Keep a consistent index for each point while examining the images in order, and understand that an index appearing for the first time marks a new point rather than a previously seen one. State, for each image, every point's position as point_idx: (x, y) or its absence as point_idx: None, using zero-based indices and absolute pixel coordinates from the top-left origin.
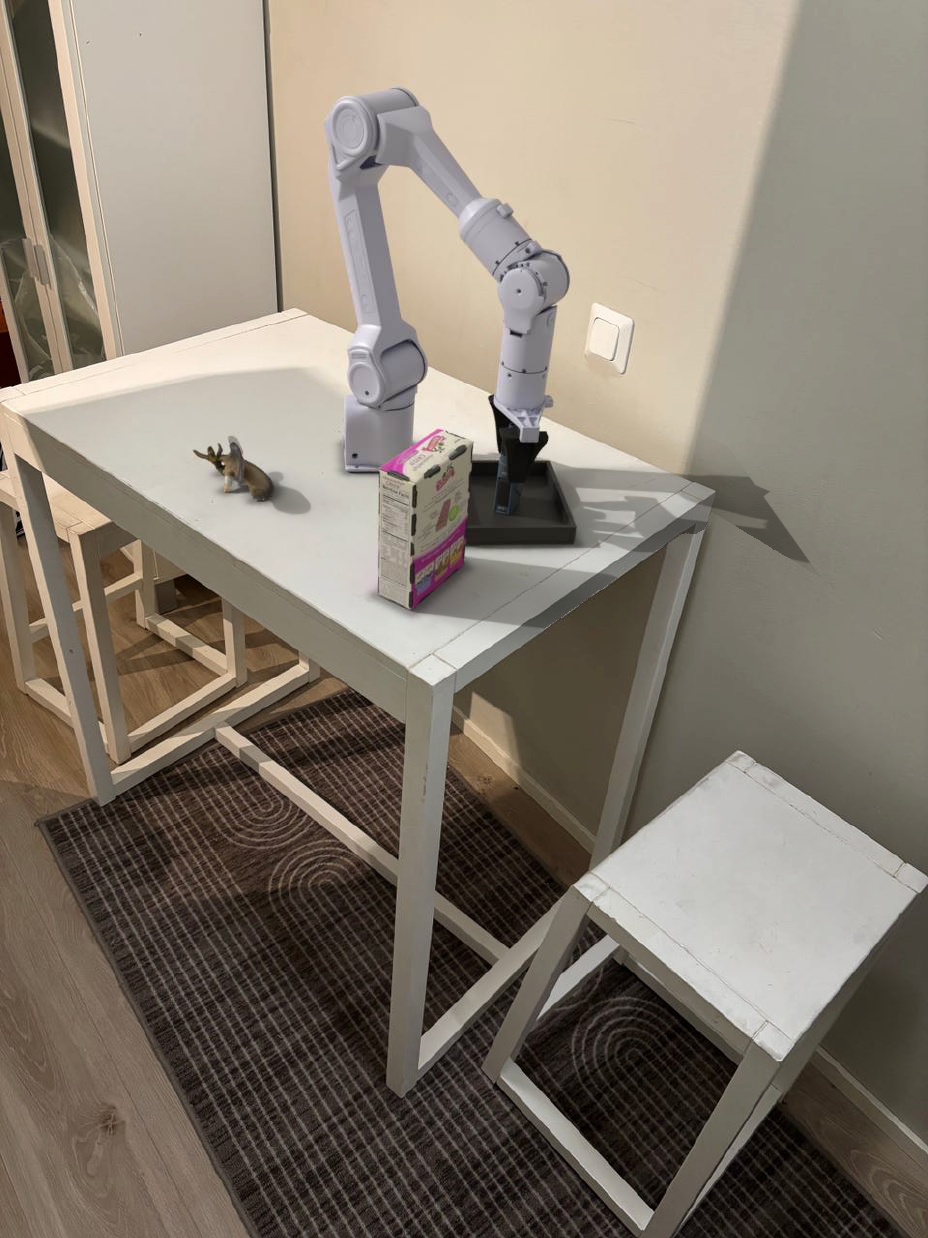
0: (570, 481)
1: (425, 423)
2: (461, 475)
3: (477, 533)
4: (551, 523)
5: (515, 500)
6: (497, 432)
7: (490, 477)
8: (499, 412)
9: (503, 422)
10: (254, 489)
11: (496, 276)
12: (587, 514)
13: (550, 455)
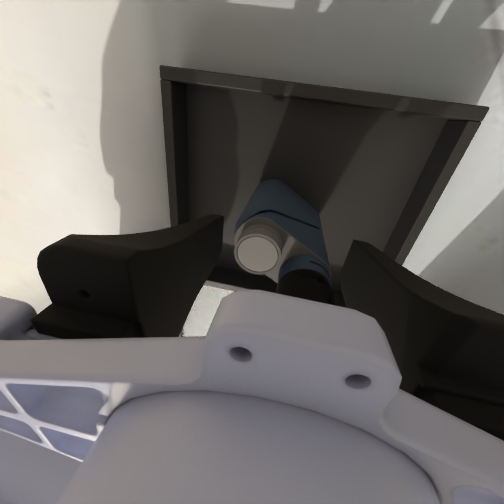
0: (199, 7)
1: (44, 240)
2: None
3: None
4: (375, 140)
5: (303, 204)
6: (199, 288)
7: (195, 203)
8: (172, 336)
9: (187, 299)
10: None
11: None
12: (356, 12)
13: (86, 25)
